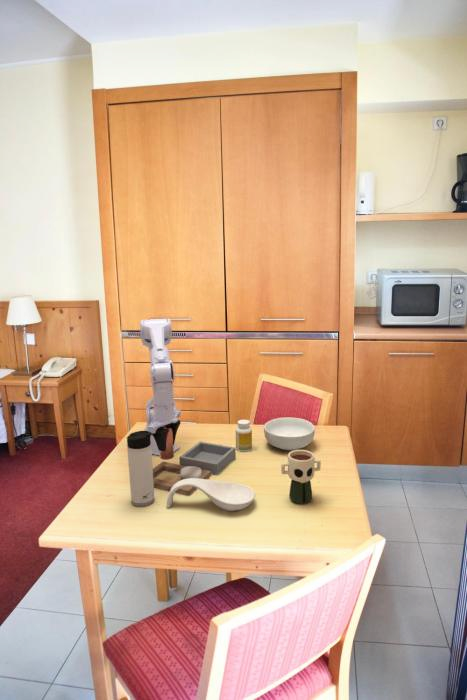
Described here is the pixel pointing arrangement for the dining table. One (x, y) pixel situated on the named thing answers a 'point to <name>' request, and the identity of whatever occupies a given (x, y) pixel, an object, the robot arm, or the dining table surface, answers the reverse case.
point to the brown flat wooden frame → (185, 474)
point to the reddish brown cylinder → (168, 445)
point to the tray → (208, 457)
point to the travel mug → (140, 468)
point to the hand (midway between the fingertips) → (166, 447)
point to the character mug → (300, 474)
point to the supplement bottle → (243, 436)
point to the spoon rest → (218, 492)
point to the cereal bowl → (289, 433)
